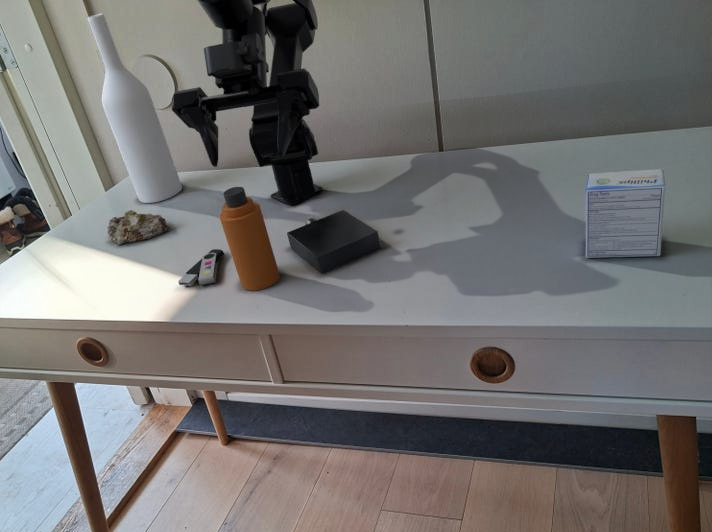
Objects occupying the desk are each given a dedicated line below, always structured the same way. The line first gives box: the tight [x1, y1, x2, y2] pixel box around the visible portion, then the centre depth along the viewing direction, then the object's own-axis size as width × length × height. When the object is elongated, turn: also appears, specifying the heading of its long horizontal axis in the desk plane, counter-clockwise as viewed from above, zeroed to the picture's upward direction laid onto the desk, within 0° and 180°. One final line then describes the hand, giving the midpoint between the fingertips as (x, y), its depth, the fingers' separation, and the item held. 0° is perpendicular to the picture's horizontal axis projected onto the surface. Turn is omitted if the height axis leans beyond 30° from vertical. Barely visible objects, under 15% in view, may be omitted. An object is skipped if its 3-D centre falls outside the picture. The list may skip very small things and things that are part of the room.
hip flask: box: [286, 209, 382, 275], centre depth 96 cm, size 12×9×3 cm
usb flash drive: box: [178, 248, 225, 287], centre depth 97 cm, size 9×5×1 cm, turn 155°
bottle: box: [87, 13, 183, 204], centre depth 119 cm, size 8×8×30 cm
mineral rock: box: [107, 209, 169, 246], centre depth 113 cm, size 11×4×8 cm
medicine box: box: [585, 168, 666, 259], centre depth 78 cm, size 8×4×9 cm, turn 71°
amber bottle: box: [218, 186, 280, 291], centre depth 89 cm, size 5×5×13 cm
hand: (247, 160), depth 91 cm, fingers open, 9 cm apart
